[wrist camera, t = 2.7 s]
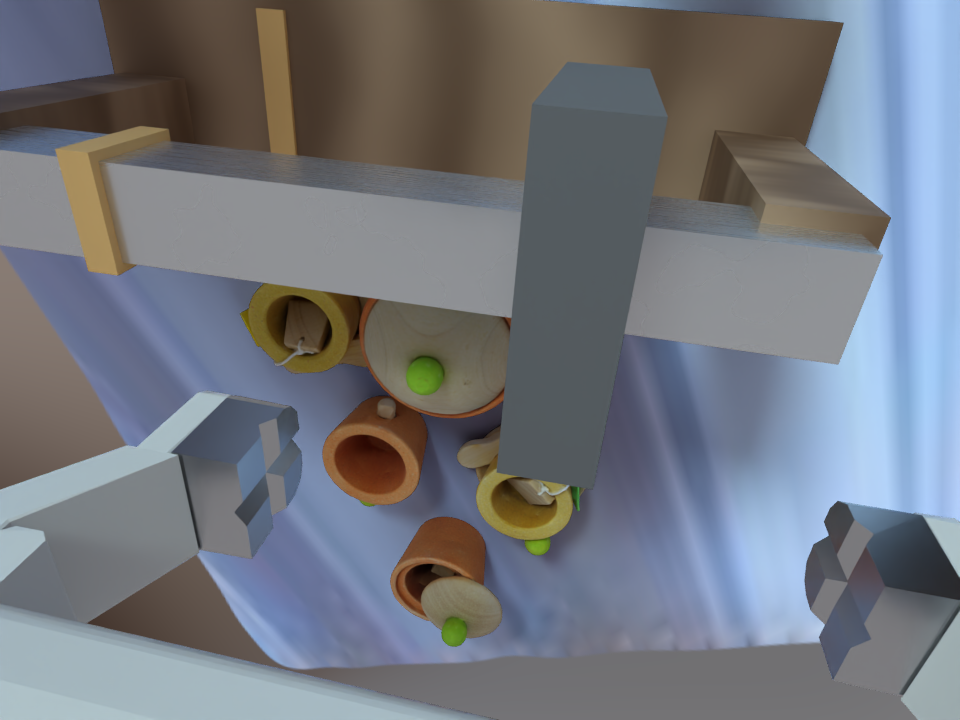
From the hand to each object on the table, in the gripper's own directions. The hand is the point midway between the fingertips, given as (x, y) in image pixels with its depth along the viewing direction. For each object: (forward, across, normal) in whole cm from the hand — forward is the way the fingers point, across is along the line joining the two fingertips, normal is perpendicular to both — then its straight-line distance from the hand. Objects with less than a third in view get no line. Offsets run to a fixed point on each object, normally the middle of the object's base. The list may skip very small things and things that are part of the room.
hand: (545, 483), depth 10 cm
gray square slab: (+14, 0, 0) cm, 14 cm away
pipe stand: (+22, +7, 0) cm, 23 cm away
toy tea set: (+22, +6, +15) cm, 28 cm away
